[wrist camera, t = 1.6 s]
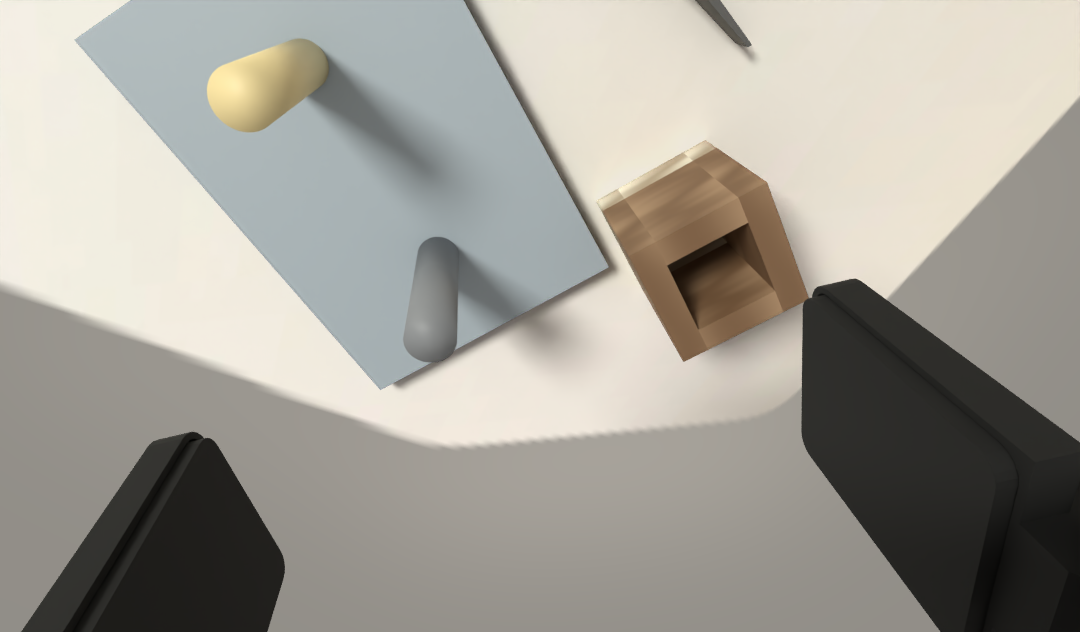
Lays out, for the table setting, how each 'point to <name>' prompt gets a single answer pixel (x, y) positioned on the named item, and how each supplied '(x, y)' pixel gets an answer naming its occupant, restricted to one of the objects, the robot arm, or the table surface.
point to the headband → (724, 20)
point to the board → (360, 161)
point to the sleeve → (705, 247)
